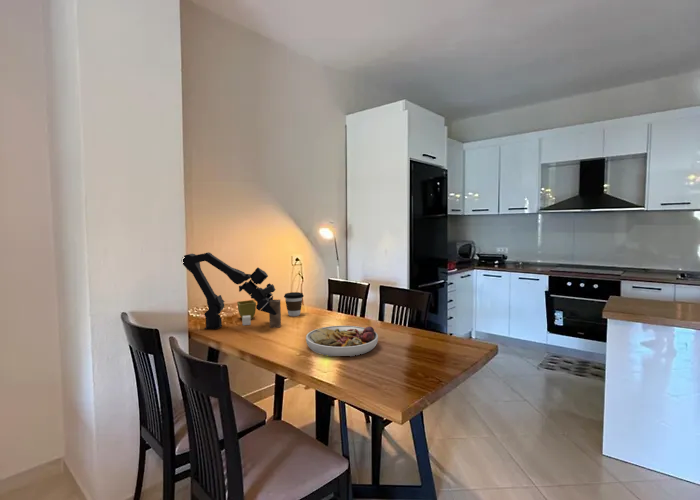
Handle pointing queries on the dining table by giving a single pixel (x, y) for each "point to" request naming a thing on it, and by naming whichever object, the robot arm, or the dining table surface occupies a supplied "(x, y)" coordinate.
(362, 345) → the bowl
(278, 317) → the walnut block
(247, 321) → the ceramic cube
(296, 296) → the coffee cup
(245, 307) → the flower pot
